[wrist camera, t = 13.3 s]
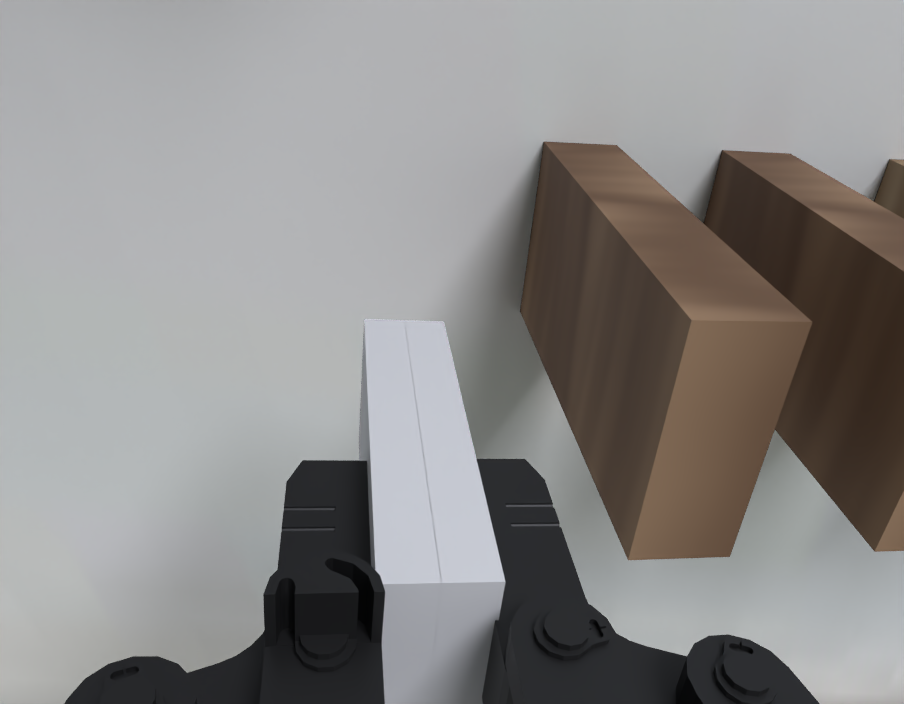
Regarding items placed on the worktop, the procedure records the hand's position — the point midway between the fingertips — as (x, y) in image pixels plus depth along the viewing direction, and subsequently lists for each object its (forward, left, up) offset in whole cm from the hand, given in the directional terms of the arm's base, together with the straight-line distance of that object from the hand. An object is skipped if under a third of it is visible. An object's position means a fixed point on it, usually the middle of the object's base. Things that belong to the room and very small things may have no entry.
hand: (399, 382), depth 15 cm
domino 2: (+10, 0, -7) cm, 12 cm away
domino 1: (+5, 0, -7) cm, 9 cm away
